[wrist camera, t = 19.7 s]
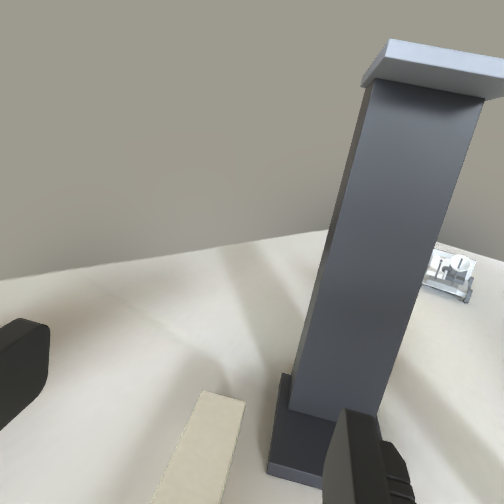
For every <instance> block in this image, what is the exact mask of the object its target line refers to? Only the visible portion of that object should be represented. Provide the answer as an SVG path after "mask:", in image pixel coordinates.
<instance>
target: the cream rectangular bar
mask: <svg viewBox="0 0 504 504" xmlns="http://www.w3.org/2000/svg"><path fill="white" fill-rule="evenodd" d="M245 405H246V402H245V401H241V400H237V399H234V398H230V397H226V396H223V395H219V394H215V393H211V392H208V391H204V390H202V392H201V395H200V397H199V399H198V401H197V403H196V405H195V408H194V410H193V412H192V414H191V416H190V418H189V421H188V423H187V425H186V427H185V429H184V431H183V434H182V436H181V438H180V440H179V442H178V444H177V447H176V449H175V451H174V453H173V455H172V457H171V460H170V462H169V464H168V466H167V468H166V470H165V473H164V475H163V477H162V479H161V481H160V483H159V486H158V488H157V490H156V492H155V494H154V496H153V499H152V501H151V503H150V504H220V503H221V499H222V495H223V492H224V488H225V484H226V480H227V477H228V473H229V469H230V465H231V462H232V458H233V454H234V450H235V447H236V443H237V439H238V435H239V432H240V427H241V423H242V418H243V414H244V410H245Z"/></svg>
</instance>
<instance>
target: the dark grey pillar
mask: <svg viewBox="0 0 504 504" xmlns="http://www.w3.org/2000/svg"><path fill="white" fill-rule="evenodd" d="M361 87H363V88H366V89H365V93H364V97H363V101H362V105H361V108H360V112H359V116H358V120H357V124H356V127H355V131H354V135H353V139H352V143H351V147H350V151H349V155H348V158H347V162H346V166H345V170H344V173H343V178H342V181H341V185H340V189H339V193H338V196H337V201H336V204H335V208H334V212H333V216H332V220H331V223H330V227H329V231H328V235H327V239H326V243H325V246H324V250H323V254H322V258H321V262H320V266H319V269H318V273H317V277H316V281H315V285H314V289H313V292H312V296H311V300H310V304H309V308H308V312H307V316H306V319H305V323H304V327H303V331H302V335H301V339H300V342H299V346H298V350H297V354H296V358H295V362H294V365H293V369H292V373H291V375H290V374H286V373H282V375H281V379H280V384H279V391H278V398H277V404H276V411H275V418H274V425H273V431H272V438H271V445H270V452H269V458H268V465H267V472H266V473H267V474H269V475H273V476H276V477H280V478H283V479H287V480H290V481H294V482H297V483H301V484H304V485H308V486H311V487H315V488H318V489H322V478H323V469H324V463H325V459H326V455H327V452H328V449H329V445H330V442H331V439H332V436H333V433H334V430H335V427H336V424H337V421H338V418H339V415H340V412H341V410H342V408H347V409H351V410H354V411H358V412H362V413H365V414H369V415H373V416H374V419H375V423H376V428H377V433H378V438H379V440H382V436H381V431H380V427H379V423H378V418H377V412H378V409H379V406H380V403H381V400H382V397H383V394H384V392H385V389H386V386H387V383H388V380H389V377H390V374H391V371H392V368H393V365H394V362H395V360H396V357H397V354H398V351H399V348H400V345H401V342H402V339H403V336H404V333H405V330H406V328H407V325H408V322H409V319H410V316H411V313H412V310H413V307H414V304H415V301H416V299H417V296H418V293H419V290H420V287H421V284H422V281H423V278H424V275H425V272H426V269H427V267H428V264H429V261H430V258H431V255H432V252H433V249H434V246H435V243H436V240H437V237H438V234H439V231H440V229H441V226H442V223H443V220H444V217H445V214H446V211H447V208H448V205H449V202H450V199H451V197H452V194H453V191H454V188H455V185H456V182H457V179H458V176H459V173H460V171H461V168H462V165H463V162H464V159H465V156H466V153H467V150H468V147H469V145H470V141H471V139H472V136H473V133H474V130H475V127H476V124H477V121H478V118H479V115H480V113H481V110H482V107H483V104H484V101H487V100H491V99H495V98H499V97H503V96H504V59H502V58H497V57H491V56H485V55H480V54H474V53H469V52H463V51H457V50H451V49H446V48H441V47H435V46H429V45H423V44H418V43H413V42H407V41H401V40H396V39H389V40H388V41H387V43H386V44H385V46H384V47H383V49H382V50H381V51H380V53H379V54H378V56H377V57H376V58H375V60H374V61H373V63H372V64H371V65H370V67H369V68H368V70H367V71H366V73H365V74H364V75H363V78H362V82H361Z"/></svg>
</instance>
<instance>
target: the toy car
mask: <svg viewBox="0 0 504 504" xmlns="http://www.w3.org/2000/svg"><path fill="white" fill-rule="evenodd" d="M475 263H476V260H473V259H469V258H468V257H466V256H464V255H455V254H452V253H448V252H445V251H442V250H438V249H435V248H434V249H433V252H432V255H431V258H430V261H429V264H428V267H427V269H426V272H425V275H424V278H423V281H422V284H425V285H428V286H431V287H434V288H437V289H440V290H443V291H446V292H449V293H452V294H455V295H458V296H461V297H464V302H465V303H468V302H469V300H470V297H471V294H472V290H470V287H471V285H472V282H473V279H474V278H473V277H470V276H471V273H472V271H473V268H474V266H475ZM467 289H468V290H467Z"/></svg>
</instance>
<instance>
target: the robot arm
mask: <svg viewBox="0 0 504 504" xmlns="http://www.w3.org/2000/svg"><path fill="white" fill-rule="evenodd" d="M49 348H50V329H49V327H48V326H47V325H44V324H40V323H37V322H33V321H29V320H26V319H22V318H18V319H15V320H13V321H12V322H10V323H8V324H7V325H5V326H3V327H2V328H0V431H1V430H2V429H3V428H4V427H5V426H6V425H7V424H8V423H9V422H10V421H11V420H13V419H14V418H15V417H16V416H17V415H18V414H19V413H20V412H21V411H22V410H23V409H25V408H26V407H27V406H28V405H29V404H30V403H31V402H32V401H33V400H34V399H35V398H36V397H37V396H38V395H39V394H40V392H41V391H42V389H43V387H44V385H45V383H46V380H47V377H48V365H49ZM322 498H323V504H417V503H415V496H414V492H413V489H412V486H411V485H410V478H409V474H408V471H407V467H406V463H405V461H404V460H403V458H402V457H401V455H400V454H399V452H398V451H397V450H396V448H395V447H394V445H393V444H392V443H390V442H387V441H383V440H379V438H378V433H377V428H376V423H375V419H374V416H373V415H369V414H365V413H362V412H358V411H354V410H351V409H347V408H342V410H341V412H340V415H339V418H338V421H337V424H336V427H335V430H334V433H333V436H332V439H331V442H330V445H329V449H328V452H327V455H326V459H325V463H324V469H323V478H322Z"/></svg>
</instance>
